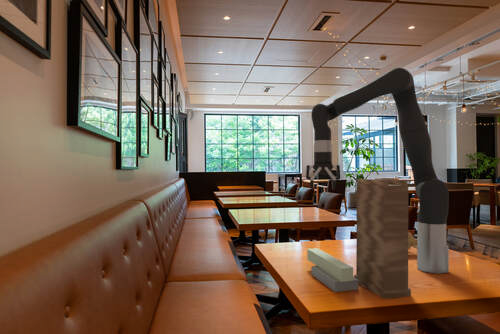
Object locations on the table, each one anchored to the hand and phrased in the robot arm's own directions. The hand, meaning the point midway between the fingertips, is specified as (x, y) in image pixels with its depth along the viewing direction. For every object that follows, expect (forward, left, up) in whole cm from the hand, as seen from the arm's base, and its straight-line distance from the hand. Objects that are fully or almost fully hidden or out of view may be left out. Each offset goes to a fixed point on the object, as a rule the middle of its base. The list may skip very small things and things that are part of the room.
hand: (323, 189), depth 139 cm
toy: (-37, -9, -28) cm, 47 cm away
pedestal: (-16, +36, -28) cm, 48 cm away
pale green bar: (0, +30, -25) cm, 39 cm away
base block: (-2, +33, -28) cm, 43 cm away
